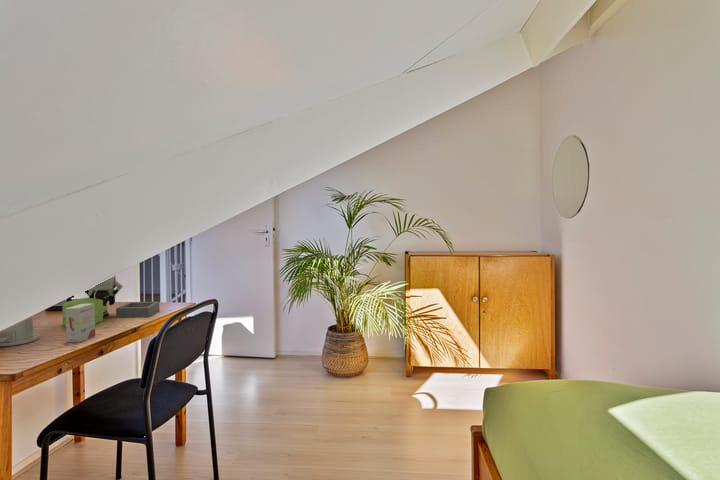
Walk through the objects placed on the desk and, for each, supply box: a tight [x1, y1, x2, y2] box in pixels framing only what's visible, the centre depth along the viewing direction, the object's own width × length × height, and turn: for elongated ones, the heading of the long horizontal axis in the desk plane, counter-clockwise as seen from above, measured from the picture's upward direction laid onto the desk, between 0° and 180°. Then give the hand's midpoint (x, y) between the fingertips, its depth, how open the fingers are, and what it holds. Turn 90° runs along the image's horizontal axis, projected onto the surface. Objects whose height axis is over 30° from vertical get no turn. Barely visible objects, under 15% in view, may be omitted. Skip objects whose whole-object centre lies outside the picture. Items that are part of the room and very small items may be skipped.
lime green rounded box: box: [62, 297, 108, 327], centre depth 160 cm, size 18×10×10 cm, turn 168°
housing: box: [115, 301, 160, 319], centre depth 179 cm, size 13×13×4 cm
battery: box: [93, 290, 110, 318], centre depth 173 cm, size 7×4×11 cm, turn 1°
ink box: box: [65, 303, 96, 343], centre depth 141 cm, size 9×5×12 cm, turn 0°
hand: (102, 304), depth 173 cm, fingers open, 6 cm apart
